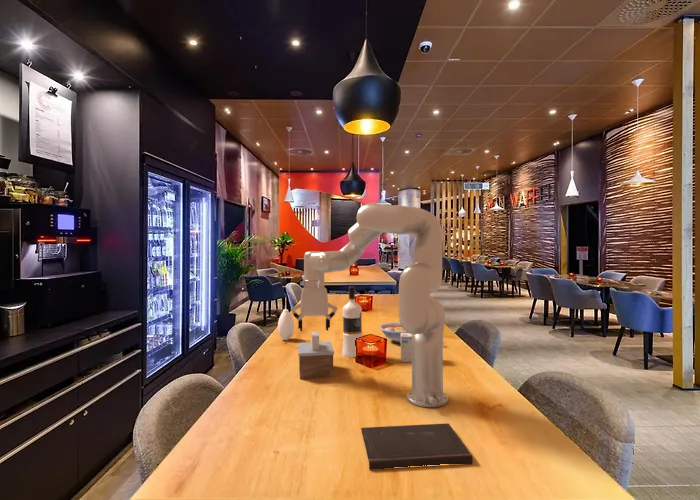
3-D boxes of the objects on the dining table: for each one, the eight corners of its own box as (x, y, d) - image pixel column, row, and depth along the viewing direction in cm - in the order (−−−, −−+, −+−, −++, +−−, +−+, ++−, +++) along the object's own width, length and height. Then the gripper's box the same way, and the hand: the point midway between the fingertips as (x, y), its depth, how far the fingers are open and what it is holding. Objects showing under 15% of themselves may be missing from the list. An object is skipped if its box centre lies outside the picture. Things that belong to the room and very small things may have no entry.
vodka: (347, 352, 176) (346, 285, 175) (366, 354, 172) (365, 285, 171) (338, 358, 167) (337, 287, 167) (358, 360, 164) (357, 288, 163)
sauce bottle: (297, 339, 200) (296, 303, 200) (286, 342, 194) (286, 306, 193) (285, 337, 205) (284, 302, 204) (274, 340, 198) (274, 304, 198)
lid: (334, 357, 141) (333, 337, 141) (298, 359, 139) (298, 339, 139) (330, 346, 155) (330, 328, 155) (298, 348, 154) (297, 330, 153)
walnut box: (333, 379, 141) (333, 354, 141) (299, 381, 140) (299, 356, 139) (330, 367, 155) (329, 344, 155) (299, 368, 154) (298, 345, 153)
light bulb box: (426, 358, 166) (425, 332, 166) (427, 362, 159) (427, 336, 159) (400, 357, 167) (400, 332, 167) (400, 362, 160) (400, 336, 160)
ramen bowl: (372, 337, 202) (372, 321, 202) (412, 333, 209) (412, 318, 209) (391, 350, 178) (391, 332, 178) (436, 345, 185) (436, 328, 185)
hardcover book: (361, 436, 101) (361, 427, 101) (448, 431, 103) (448, 423, 103) (369, 472, 85) (369, 462, 85) (472, 466, 87) (472, 456, 87)
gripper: (290, 286, 142) (290, 333, 142) (338, 285, 144) (338, 331, 145) (290, 283, 149) (290, 328, 150) (336, 283, 152) (336, 327, 152)
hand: (314, 330), depth 147 cm, fingers open, 9 cm apart
